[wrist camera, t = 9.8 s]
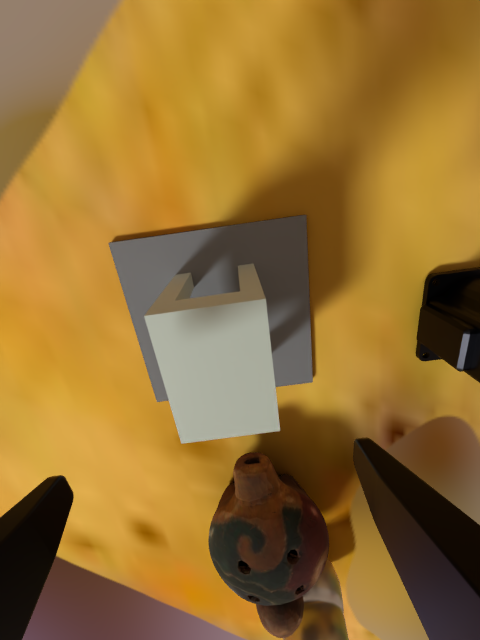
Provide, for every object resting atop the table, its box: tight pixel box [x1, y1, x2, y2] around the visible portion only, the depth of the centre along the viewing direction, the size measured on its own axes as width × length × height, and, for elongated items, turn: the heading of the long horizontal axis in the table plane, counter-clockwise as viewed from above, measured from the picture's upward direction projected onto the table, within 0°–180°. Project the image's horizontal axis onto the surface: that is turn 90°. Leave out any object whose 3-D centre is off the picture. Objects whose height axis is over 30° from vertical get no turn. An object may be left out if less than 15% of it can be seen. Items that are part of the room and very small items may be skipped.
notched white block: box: [144, 264, 280, 444], centre depth 16 cm, size 7×5×7 cm
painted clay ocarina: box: [209, 452, 329, 638], centre depth 23 cm, size 10×15×8 cm, turn 16°
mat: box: [109, 215, 313, 402], centre depth 19 cm, size 12×12×1 cm
